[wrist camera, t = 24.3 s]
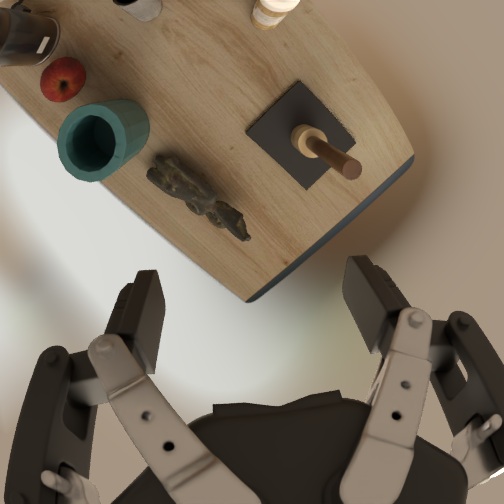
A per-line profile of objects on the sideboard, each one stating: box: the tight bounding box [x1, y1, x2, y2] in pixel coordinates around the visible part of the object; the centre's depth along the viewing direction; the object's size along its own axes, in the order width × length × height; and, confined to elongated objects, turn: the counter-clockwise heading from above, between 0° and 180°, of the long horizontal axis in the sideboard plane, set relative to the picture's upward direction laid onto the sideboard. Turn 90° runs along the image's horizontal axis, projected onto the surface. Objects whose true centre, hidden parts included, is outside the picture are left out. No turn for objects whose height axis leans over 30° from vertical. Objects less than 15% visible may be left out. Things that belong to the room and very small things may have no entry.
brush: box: [291, 124, 362, 180], centre depth 35 cm, size 4×4×19 cm
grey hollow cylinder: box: [113, 0, 162, 22], centre depth 25 cm, size 4×4×10 cm
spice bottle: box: [251, 0, 300, 30], centre depth 27 cm, size 5×5×13 cm
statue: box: [146, 155, 251, 242], centre depth 45 cm, size 6×6×20 cm
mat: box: [246, 81, 356, 190], centre depth 43 cm, size 14×12×1 cm
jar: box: [57, 99, 150, 182], centre depth 35 cm, size 10×10×12 cm
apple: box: [40, 57, 86, 102], centre depth 30 cm, size 7×8×8 cm
